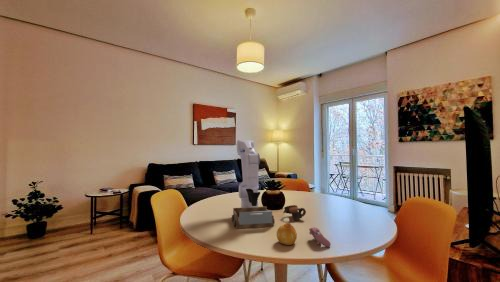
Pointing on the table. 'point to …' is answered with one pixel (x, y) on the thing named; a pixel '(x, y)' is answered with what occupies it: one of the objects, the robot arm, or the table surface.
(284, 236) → the fruit
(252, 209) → the cart bed
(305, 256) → the table surface
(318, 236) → the pink animal figurine
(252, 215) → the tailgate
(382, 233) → the table surface
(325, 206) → the table surface
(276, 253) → the table surface
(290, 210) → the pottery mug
